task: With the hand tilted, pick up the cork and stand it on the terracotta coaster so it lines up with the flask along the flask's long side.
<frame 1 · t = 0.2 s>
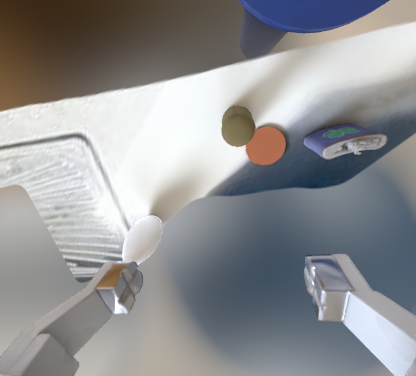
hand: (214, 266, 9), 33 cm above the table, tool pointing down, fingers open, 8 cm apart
flask: (327, 134, 36), on the table
cork: (236, 121, 37), on the table
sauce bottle: (155, 219, 51), on the table
coaster: (265, 146, 39), on the table
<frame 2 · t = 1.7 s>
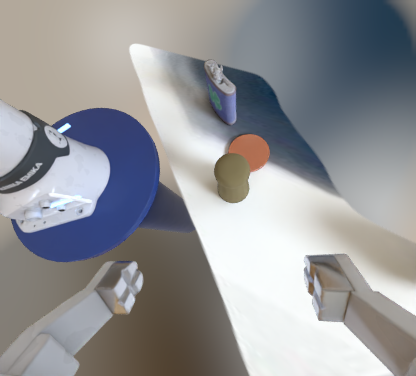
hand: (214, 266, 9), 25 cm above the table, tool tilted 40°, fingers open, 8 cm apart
flask: (222, 110, 41), on the table
cork: (233, 188, 36), on the table
coaster: (248, 153, 37), on the table
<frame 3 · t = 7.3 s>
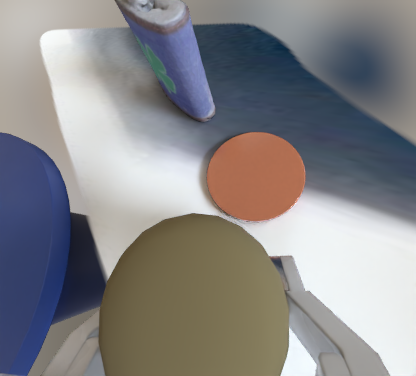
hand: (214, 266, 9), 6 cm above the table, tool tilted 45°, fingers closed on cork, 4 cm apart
flask: (186, 98, 21), on the table
cork: (230, 268, 14), on the table, touching gripper
coaster: (253, 175, 16), on the table
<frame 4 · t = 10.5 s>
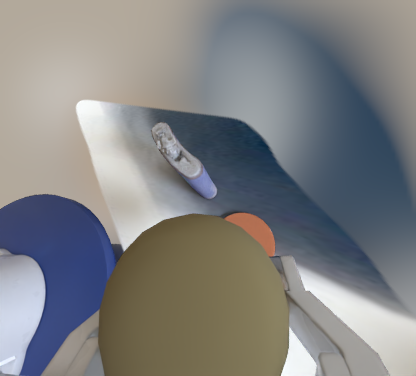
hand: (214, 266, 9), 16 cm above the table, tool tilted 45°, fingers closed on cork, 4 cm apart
flask: (196, 177, 29), on the table
cork: (230, 268, 14), point 10 cm above the table, touching gripper
coaster: (242, 243, 24), on the table
when the fingers open (6 cm above the table, at t = 13.7 s): cork stays where it is, resting on coaster.
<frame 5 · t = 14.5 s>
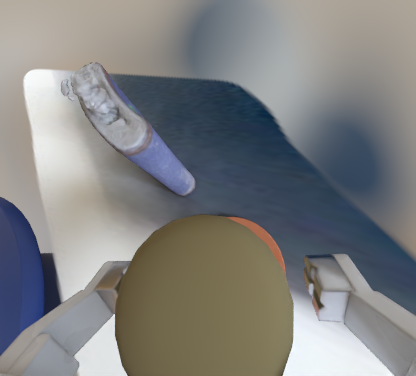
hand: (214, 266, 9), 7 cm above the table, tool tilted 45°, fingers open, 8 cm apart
flask: (166, 164, 20), on the table
cork: (233, 267, 15), resting on coaster
coaster: (232, 267, 15), on the table
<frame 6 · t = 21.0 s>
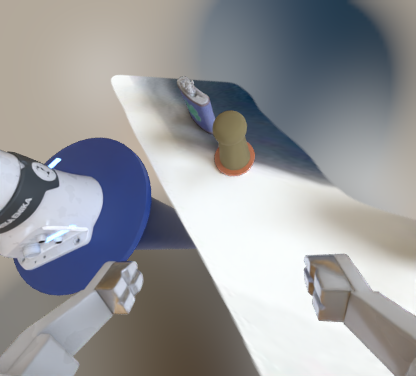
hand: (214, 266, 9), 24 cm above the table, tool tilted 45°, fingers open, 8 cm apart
flask: (203, 121, 42), on the table
cork: (234, 156, 37), resting on coaster
coaster: (234, 157, 37), on the table
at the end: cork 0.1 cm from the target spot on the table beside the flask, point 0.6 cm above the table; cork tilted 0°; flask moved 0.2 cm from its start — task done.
